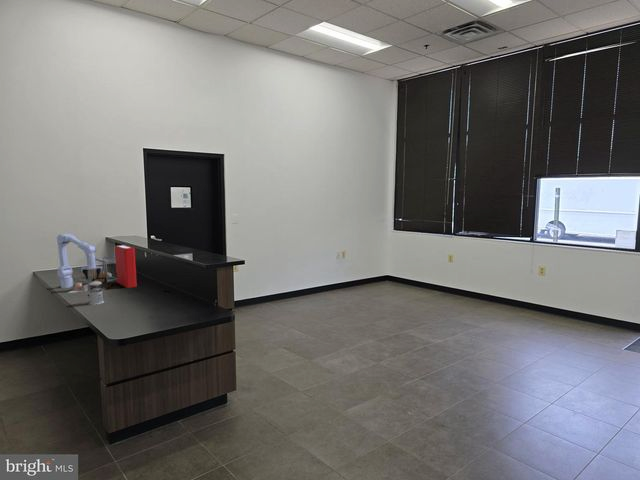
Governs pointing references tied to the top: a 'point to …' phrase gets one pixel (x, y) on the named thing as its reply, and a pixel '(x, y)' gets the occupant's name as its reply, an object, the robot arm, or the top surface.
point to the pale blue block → (85, 288)
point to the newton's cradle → (106, 267)
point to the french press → (96, 293)
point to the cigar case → (100, 279)
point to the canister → (78, 286)
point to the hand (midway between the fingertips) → (92, 278)
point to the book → (125, 265)
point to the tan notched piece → (88, 287)
